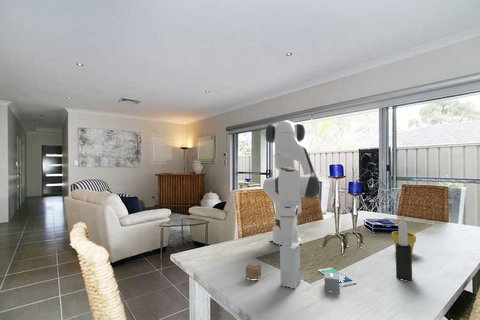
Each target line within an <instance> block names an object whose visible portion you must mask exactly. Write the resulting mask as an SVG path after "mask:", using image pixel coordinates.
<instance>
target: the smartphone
mask: <svg viewBox="0 0 480 320" xmlns="http://www.w3.org/2000/svg"><path fill="white" fill-rule="evenodd" d="M317 271H320V272H321V273H323V274H324V272H329V273H337V274H339V273H340V274H341V275H344V276H345V278H344V279H345V280H343V281H344V282H343V283H342V282H341V281H340V282H339V284H340V285H348V284H353V283H356V284H357V281H356V280H353V279H352V278H350V277H348V276H347V275H345V274H343V273H341V272H340V271H338V270H337V269H334V268H333V267H327V268H320V269H317ZM322 271H324V272H322ZM320 272H319V273H320ZM321 273H320V274H321ZM323 274H322V275H323ZM340 274H339V275H340ZM340 285H339V286H340Z"/></svg>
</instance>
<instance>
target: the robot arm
mask: <svg viewBox="0 0 480 320" xmlns="http://www.w3.org/2000/svg"><path fill="white" fill-rule="evenodd" d="M263 132H264V139H265V141H267V143H271V144H273V143H274V166H275V168H276V170H278V176H273V177H268V178H266V179H265V180H264V181H263V183H262V189H263V192H264V193H265V194H266V195H267V196H268V197H270V199H271V200H272V202H273V204H274V208H275V209H274V210H275V219H274V226H273V227H272V236H271V238H270V239H271V241H273V242H275V243H276V244H279V245H278V246H280V245H283V244H285V243H286V242H287V244H290V245H291V244H292V243H299V244H301V245H303V243H302V240H301V237H300V235H299V229H298V228H297V225H298V218H299V215H300V214H301V213H302V199H301V198H307V199H314V198H315V197H316V196H318V195H319V193H320V192H321V191H320V188H321V184H320V181H319V178H318V177H317V174H316V172H315V170H314V169H315V168H314V167H313V163H312V161H311V158H310V156H309V152H308V151H307V148H306V147H305V146H303V144H301V143H300V142H302V141H303V140H304V138H305V136H306V128H305V126H304V124H303V123H301V122H291V121H290V120H282V121H280V122H278V123H270V124H267V125H266V126H265V129H264V131H263ZM295 161H296V162H297V163H299V164H300V165H301V169H302V171H303V174H300V171H299V168H298V167H296V166H295ZM273 242H272V243H273ZM276 244H275V245H276Z"/></svg>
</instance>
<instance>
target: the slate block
mask: <svg viewBox="0 0 480 320" xmlns="http://www.w3.org/2000/svg"><path fill="white" fill-rule="evenodd" d="M323 276H324V292H326V291H332V292H339V293H340V285H339V275H338V274H337V273H329V272H324V275H323ZM332 292H331V293H332ZM339 293H338V294H339Z"/></svg>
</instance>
